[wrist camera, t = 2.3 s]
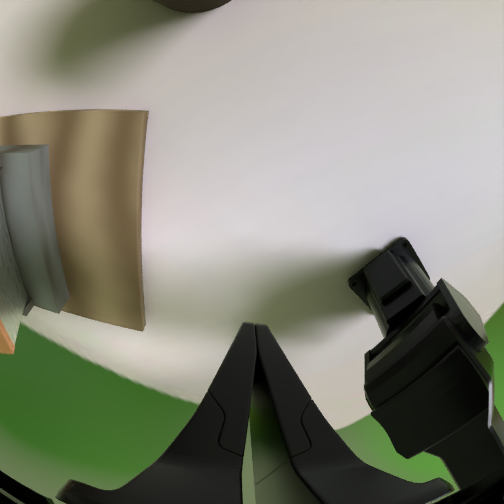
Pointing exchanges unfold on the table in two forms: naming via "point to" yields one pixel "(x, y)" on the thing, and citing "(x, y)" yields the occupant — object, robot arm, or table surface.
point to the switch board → (77, 210)
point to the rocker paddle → (9, 290)
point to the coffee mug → (192, 4)
